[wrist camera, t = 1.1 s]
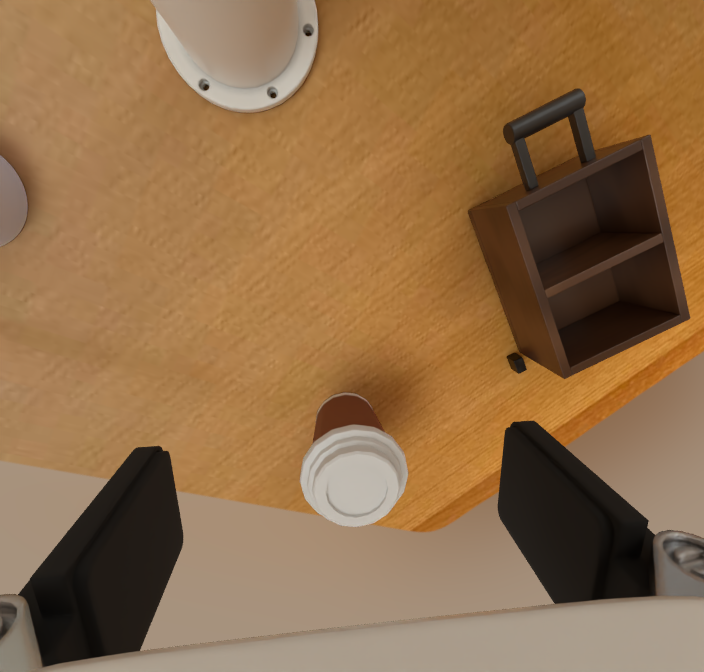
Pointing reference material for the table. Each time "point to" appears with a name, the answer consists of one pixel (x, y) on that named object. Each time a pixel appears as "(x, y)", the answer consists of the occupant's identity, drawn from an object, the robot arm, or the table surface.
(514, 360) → the dark brown rod
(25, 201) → the wedge on round base
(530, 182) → the shelf
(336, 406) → the coffee cup
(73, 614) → the robot arm
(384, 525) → the table surface
